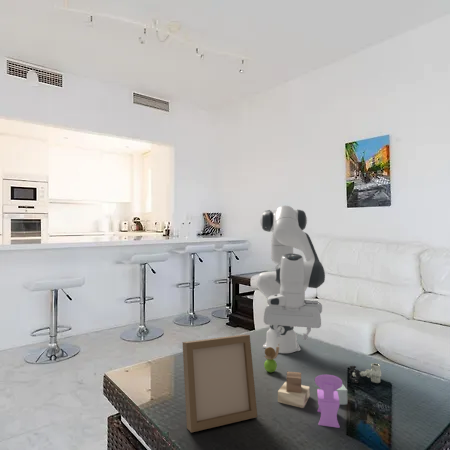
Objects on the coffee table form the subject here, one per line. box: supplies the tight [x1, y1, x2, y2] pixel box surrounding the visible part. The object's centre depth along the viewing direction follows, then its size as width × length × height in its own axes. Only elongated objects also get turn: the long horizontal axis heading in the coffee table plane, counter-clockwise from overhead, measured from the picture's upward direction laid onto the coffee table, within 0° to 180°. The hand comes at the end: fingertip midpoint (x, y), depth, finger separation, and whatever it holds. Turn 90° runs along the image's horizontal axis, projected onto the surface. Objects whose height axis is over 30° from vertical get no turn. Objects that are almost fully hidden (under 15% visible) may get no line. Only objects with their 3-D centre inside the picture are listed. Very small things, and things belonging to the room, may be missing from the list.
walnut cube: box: [286, 371, 302, 393], centre depth 121 cm, size 5×5×5 cm
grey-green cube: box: [335, 383, 348, 405], centre depth 121 cm, size 5×5×5 cm
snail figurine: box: [263, 344, 279, 373], centre depth 145 cm, size 5×6×12 cm
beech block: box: [277, 381, 311, 409], centre depth 121 cm, size 9×9×4 cm
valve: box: [348, 362, 382, 384], centre depth 136 cm, size 7×7×12 cm
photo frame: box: [182, 334, 258, 434], centre depth 110 cm, size 15×22×25 cm
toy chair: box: [314, 373, 343, 429], centre depth 109 cm, size 8×9×15 cm
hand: (291, 338), depth 123 cm, fingers open, 8 cm apart
